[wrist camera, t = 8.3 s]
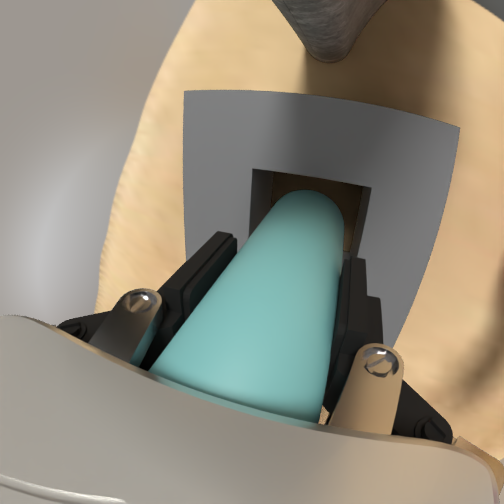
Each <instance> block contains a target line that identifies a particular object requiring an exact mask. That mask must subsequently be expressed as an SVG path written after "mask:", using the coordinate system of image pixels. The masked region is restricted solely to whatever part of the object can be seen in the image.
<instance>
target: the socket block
mask: <svg viewBox="0 0 504 504" xmlns="http://www.w3.org/2000/svg"><path fill="white" fill-rule="evenodd" d="M459 132H460V127H457V126H454V125H451V124H448V123H444V122H441V121H438V120H434V119H431V118H427V117H424V116H420V115H416V114H413V113H409V112H405V111H400V110H396V109H392V108H387V107H383V106H378V105H373V104H368V103H362V102H357V101H351V100H345V99H338V98H332V97H324V96H316V95H307V94H298V93H286V92H272V91H253V90H193V91H184V113H183V195H184V226H185V247H186V261H187V260H189V259H190V258H191V257H192V256H193V255H194V254H195V253H196V252H197V251H198V250H199V249H200V248H201V247H202V246H203V245H204V244H205V243H206V242H207V241H208V240H209V239H210V238H211V237H212V236H213V235H214V234H215V233H216V232H217V231H221V232H227V233H232V234H233V238H237V253H238V251H239V250H240V249H241V248H242V246H243V245H244V244H245V242H246V241H247V240H248V238H249V237H250V236H251V235H252V233H253V232H254V231H255V229H256V228H257V227H258V225H259V224H260V223H261V221H262V220H263V219H264V218H265V216H266V215H267V214H268V212H269V211H270V210H271V198H272V186H273V174H274V171H277V172H284V173H291V174H298V175H304V176H311V177H317V178H323V179H329V180H334V181H340V182H345V183H351V184H356V185H361V186H363V189H362V195H361V200H360V206H359V211H358V216H357V221H356V226H355V231H354V236H353V240H352V245H351V249H350V252H346V251H343V256H342V267H343V263H344V259H347V260H350V257H351V256H353V257H358V258H363V259H366V275H367V295H368V296H374V297H379V298H380V300H381V310H382V325H383V344H384V345H386V346H389V347H391V348H393V346H394V344H395V342H396V340H397V338H398V336H399V334H400V332H401V329H402V327H403V325H404V323H405V320H406V318H407V316H408V313H409V311H410V309H411V306H412V304H413V301H414V299H415V296H416V294H417V291H418V289H419V286H420V284H421V281H422V278H423V275H424V273H425V270H426V267H427V264H428V261H429V258H430V255H431V252H432V249H433V246H434V243H435V240H436V236H437V233H438V230H439V226H440V223H441V219H442V215H443V212H444V208H445V204H446V200H447V196H448V191H449V187H450V182H451V178H452V173H453V168H454V163H455V157H456V152H457V145H458V139H459ZM341 271H342V268H341Z"/></svg>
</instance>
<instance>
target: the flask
mask: <svg viewBox="0 0 504 504" xmlns="http://www.w3.org/2000/svg"><path fill="white" fill-rule="evenodd" d="M272 1H273V2H274V4H275V5H276V6H277V8H278V9H279V10H280V12H281V13H282V14H283V16H284V17H285V18H286V20H287V21H288V23H289V24H290V25H291V27H292V28H293V30H294V31H295V33H296V34H297V36H298V37H299V38H300V40H301V41H302V43H303V44H304V46H305V47H306V49H307V51H308V52H309V53H310V54H311V56H313V57H314V58H315V59H317V60H319V61H322V62H326V63H334V62H338V61H340V60H342V59H344V58H345V57H346V56H347V54H348V53H349V51H350V49H351V48H352V46H353V44H354V42H355V41H356V39H357V37H358V36H359V34H360V33H361V31H362V30H363V28H364V27H365V25H366V24H367V23H368V21H369V20H370V19H371V18H372V16H373V15H374V14H375V13H376V12H377V10H378V9H379V8H380V7H381V6H382V5H383V4H384V3H385V2H386V1H387V0H272Z"/></svg>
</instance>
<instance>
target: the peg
mask: <svg viewBox="0 0 504 504" xmlns="http://www.w3.org/2000/svg"><path fill="white" fill-rule="evenodd" d="M343 242H344V220H343V216H342V214H341V212H340V210H339V208H338V206H337V205H336V204H335V203H334V202H333V201H332V200H331V199H330V198H329V197H327V196H326V195H324V194H322V193H320V192H317V191H313V190H296V191H292V192H290V193H287V194H286V195H284V196H282V197H281V198H280V199H279V200H278V201H277V202H276V203H275V205H274V206H273V207H272V209H271V210H270V211H269V212H268V214H267V215H266V216H265V218H264V219H263V220H262V221H261V223H260V224H259V225H258V227H257V228H256V229H255V231H254V232H253V233H252V235H251V236H250V237H249V238H248V240H247V241H246V242H245V244H244V245H243V246H242V248H241V249H240V250H239V251H238V253H237V254H236V255H235V257H234V258H233V259H232V261H231V262H230V263H229V265H228V266H227V267H226V269H225V270H224V271H223V272H222V274H221V275H220V276H219V278H218V279H217V280H216V282H215V283H214V284H213V286H212V287H211V288H210V290H209V291H208V292H207V294H206V295H205V296H204V298H203V299H202V300H201V302H200V303H199V304H198V305H197V307H196V308H195V309H194V311H193V312H192V313H191V315H190V316H189V317H188V319H187V320H186V321H185V323H184V324H183V325H182V327H181V328H180V329H179V331H178V332H177V333H176V335H175V336H174V337H173V339H172V340H171V341H170V343H169V344H168V345H167V347H166V348H165V349H164V351H163V352H162V354H161V355H160V356H159V358H158V359H157V360H156V362H155V363H154V364H153V366H152V367H151V368H150V370H149V371H148V372H150V373H153V374H155V375H157V376H160V377H162V378H165V379H167V380H170V381H172V382H175V383H178V384H180V385H183V386H186V387H188V388H191V389H194V390H197V391H200V392H203V393H205V394H208V395H211V396H214V397H217V398H221V399H224V400H227V401H230V402H233V403H237V404H240V405H243V406H247V407H251V408H254V409H258V410H261V411H265V412H269V413H273V414H277V415H281V416H285V417H289V418H294V419H298V420H303V421H307V422H312V423H317V424H318V423H319V418H320V413H321V408H322V403H323V398H324V393H325V387H326V382H327V376H328V370H329V364H330V352H331V346H332V339H333V332H334V325H335V317H336V309H337V301H338V292H339V283H340V275H341V268H342V256H343Z"/></svg>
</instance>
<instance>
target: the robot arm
mask: <svg viewBox="0 0 504 504" xmlns="http://www.w3.org/2000/svg"><path fill="white" fill-rule="evenodd" d="M236 254H237V238H233V234H232V233H227V232H221V231H217V232H216V233H215V234H214V235H213V236H212V237H211V238H210V239H209V240H208V241H207V242H206V243H205V244H204V245H203V246H202V247H201V248H200V249H199V250H198V251H197V252H196V253H195V254H194V255H193V256H192V257H191V258H190V259H189V260H187V261H186V262H185V263H184V264H183V265H182V266H181V267H180V268H179V269H178V270H177V271H176V272H175V273H174V274H173V275H172V276H171V277H170V278H169V279H168V280H167V281H166V282H165V283H164V284H163V285H162V286H161V287H160V289H159V290H158V291H157V292H156V291H154V290H151V289H144V288H141V289H135V290H132V291H129V292H127V293H126V294H124V295H123V296H122V297H121V298H120V299H119V301H118V302H117V303H116V305H115V306H114V307H113V309H112V310H111V311H107V312H102V313H98V314H93V315H88V316H83V317H78V318H73V319H69V320H66V321H64V322H62V323H61V324H59V325H58V326H57V327H56V325H50V324H47V323H45V322H42V321H40V320H37V319H34V318H30V317H26V316H18V315H3V316H0V504H500V501H499V495H500V492H501V490H502V488H503V485H504V466H503V464H502V463H501V462H500V461H499V460H497V459H496V458H494V457H492V456H491V455H489V454H487V453H486V452H484V451H483V450H481V449H479V448H478V447H476V446H475V445H473V444H471V443H470V442H468V441H467V440H465V439H464V438H462V437H460V436H459V437H458V438H457V439H456V438H454V437H453V433H452V429H451V427H450V425H449V424H448V422H447V421H446V420H445V419H444V418H443V417H442V416H441V415H440V414H439V413H438V412H437V411H436V410H435V409H434V408H433V407H431V406H430V405H429V404H428V403H427V402H426V401H425V400H424V399H423V398H422V397H421V396H420V395H419V394H418V393H417V392H416V391H414V390H413V389H412V388H411V387H410V386H409V385H408V384H407V383H406V382H405V381H404V380H403V379H402V378H403V372H404V362H403V360H402V358H401V356H400V355H399V354H398V352H397V351H395V350H394V349H392V348H391V347H389V346H386V345H384V344H383V325H382V310H381V300H380V298H379V297H374V296H368V295H367V275H366V259H363V258H358V257H353V256H351V257H350V260H347V259H344V263H343V267H342V271H341V275H340V283H339V292H338V301H337V309H336V317H335V325H334V332H333V339H332V346H331V352H330V364H329V370H328V376H327V382H326V387H325V393H324V398H323V403H322V405H323V406H324V407H325V409H326V410H327V411H328V412H329V414H328V417H327V419H326V421H325V423H324V425H323V424H317V423H312V422H307V421H303V420H298V419H294V418H289V417H285V416H281V415H277V414H273V413H269V412H265V411H261V410H258V409H254V408H251V407H247V406H243V405H240V404H237V403H233V402H230V401H227V400H224V399H221V398H217V397H214V396H211V395H208V394H205V393H203V392H200V391H197V390H194V389H191V388H188V387H186V386H183V385H180V384H178V383H175V382H172V381H170V380H167V379H165V378H162V377H160V376H157V375H155V374H153V373H150V372H148V371H149V370H150V368H151V367H152V366H153V364H154V363H155V362H156V360H157V359H158V358H159V356H160V355H161V354H162V352H163V351H164V349H165V348H166V347H167V345H168V344H169V343H170V341H171V340H172V339H173V337H174V336H175V335H176V333H177V332H178V331H179V329H180V328H181V327H182V325H183V324H184V323H185V321H186V320H187V319H188V317H189V316H190V315H191V313H192V312H193V311H194V309H195V308H196V307H197V305H198V304H199V303H200V302H201V300H202V299H203V298H204V296H205V295H206V294H207V292H208V291H209V290H210V288H211V287H212V286H213V284H214V283H215V282H216V280H217V279H218V278H219V276H220V275H221V274H222V272H223V271H224V270H225V269H226V267H227V266H228V265H229V263H230V262H231V261H232V259H233V258H234V257H235V255H236Z"/></svg>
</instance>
